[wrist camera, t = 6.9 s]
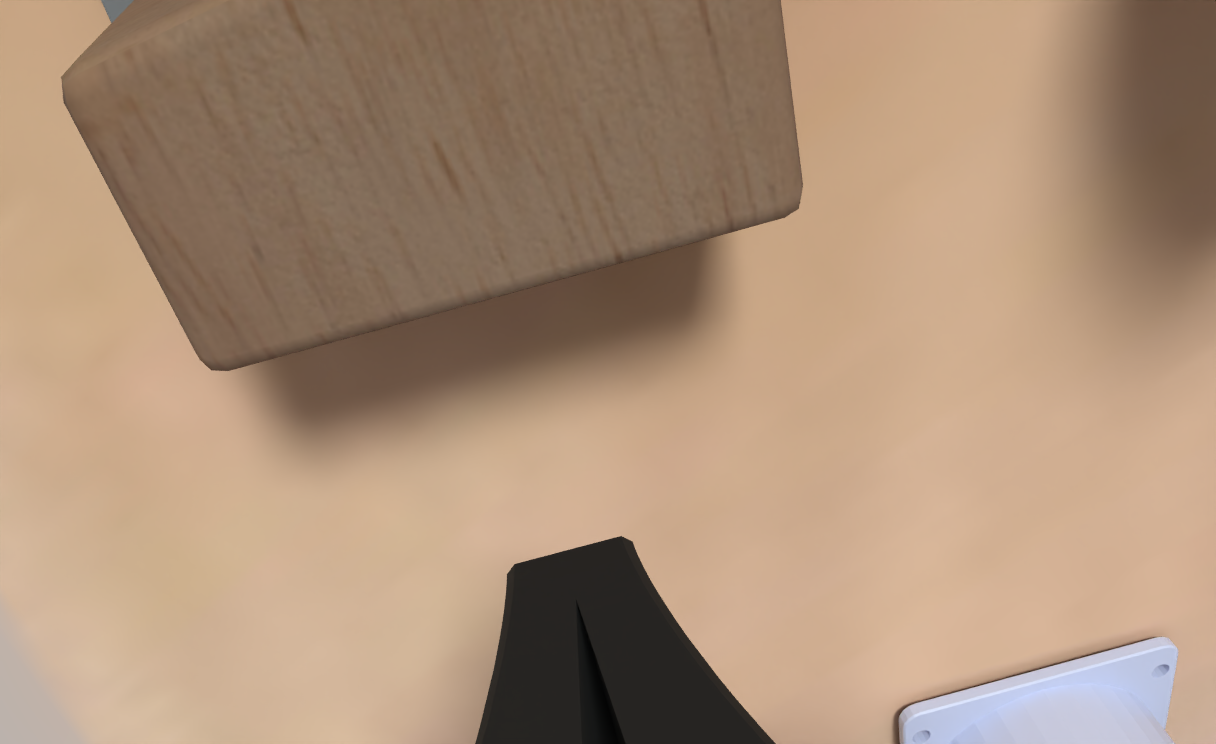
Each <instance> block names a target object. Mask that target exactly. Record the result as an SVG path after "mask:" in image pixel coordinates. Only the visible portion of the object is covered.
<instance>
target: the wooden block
mask: <svg viewBox="0 0 1216 744" xmlns="http://www.w3.org/2000/svg"><path fill="white" fill-rule="evenodd" d="M61 79H62V89H63V99H64V104H65V106H66V108H67V109H68V111H69V113H70V115H71V117H72V119H73V121H74V123H75V125H76V126H77V128H78V130H79V132H80V134H81V136H82V138H83V140H84V142H85V144H86V145H87V147H88V149H89V151H90V153H91V155H92V157H93V159H94V161H95V163H96V164H97V166H98V168H99V170H100V172H101V174H102V176H103V178H104V180H105V181H106V183H107V185H108V187H109V189H110V191H111V193H112V195H113V197H114V199H115V200H116V202H117V204H118V206H119V208H120V210H121V212H122V214H123V216H124V217H125V219H126V221H127V223H128V225H129V227H130V229H131V231H132V233H133V235H134V236H135V238H136V240H137V242H138V244H139V246H140V248H141V250H142V252H143V253H144V255H145V257H146V259H147V261H148V263H149V265H150V267H151V269H152V271H153V272H154V274H155V276H156V278H157V280H158V282H159V284H160V286H161V288H162V289H163V291H164V293H165V295H166V297H167V299H168V301H169V303H170V305H171V307H172V308H173V310H174V312H175V314H176V316H177V318H178V320H179V322H180V324H181V325H182V327H183V329H184V331H185V333H186V335H187V337H188V339H189V341H190V343H191V344H192V346H193V348H194V350H195V352H196V354H197V355H198V357H199V359H200V360H201V361H202V362H203V363H204V364H205V365H206V366H207V367H208V368H210V369H211V370H218V371H230V370H233V369H237V368H241V367H244V366H248V365H251V364H255V363H259V362H262V361H266V360H270V359H273V358H277V357H281V356H284V355H288V354H291V353H295V352H299V351H302V350H306V349H310V348H313V347H317V346H320V345H324V344H328V343H331V342H335V341H339V340H342V339H346V338H350V337H353V336H357V335H360V334H364V333H368V332H371V331H375V330H379V329H382V328H386V327H390V326H393V325H397V324H400V323H404V322H408V321H411V320H415V319H419V318H422V317H426V316H430V315H433V314H437V313H440V312H444V311H448V310H451V309H455V308H459V307H462V306H466V305H469V304H473V303H477V302H480V301H484V300H488V299H491V298H495V297H499V296H502V295H506V294H509V293H513V292H517V291H520V290H524V289H528V288H531V287H535V286H538V285H542V284H546V283H549V282H553V281H557V280H560V279H564V278H567V277H571V276H575V275H578V274H582V273H586V272H589V271H593V270H596V269H600V268H604V267H607V266H611V265H614V264H618V263H622V262H625V261H629V260H633V259H636V258H640V257H643V256H647V255H651V254H654V253H658V252H662V251H665V250H669V249H672V248H676V247H680V246H683V245H687V244H691V243H694V242H698V241H701V240H705V239H709V238H712V237H716V236H720V235H723V234H727V233H730V232H734V231H738V230H741V229H745V228H749V227H752V226H756V225H759V224H763V223H767V222H770V221H774V220H778V219H781V218H785V217H786V216H788V215H789V214H791V213H792V212H794V211H796V210H797V209H799V204H800V199H801V194H802V187H803V182H802V173H801V165H800V157H799V148H798V140H797V132H796V124H795V115H794V107H793V99H792V91H791V82H790V74H789V66H788V57H787V49H786V41H785V33H784V24H783V16H782V8H781V0H134V1H133V2H132V3H131V4H130V5H129V6H128V7H127V8H126V9H125V10H124V11H123V12H122V13H121V14H120V15H119V16H118V17H117V18H116V19H115V20H114V21H113V22H112V23H111V25H110V26H109V27H108V28H107V29H106V30H105V31H104V32H103V33H102V34H101V35H100V36H99V37H98V38H97V39H96V40H95V41H94V42H93V43H92V44H91V45H90V46H89V47H88V48H87V49H86V50H85V51H84V53H83V54H82V55H81V56H80V57H79V58H78V59H77V60H76V61H75V62H74V63H73V64H72V66H71V67H70V68H69V69H68V70H67V71H66V72H65V73H64V75H63V76H62V77H61Z"/></svg>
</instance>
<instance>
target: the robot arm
mask: <svg viewBox="0 0 1216 744" xmlns="http://www.w3.org/2000/svg"><path fill="white" fill-rule="evenodd" d="M1177 658H1178V649H1177V647H1176V646H1175V645H1174V644H1173V643H1172V641H1171V640H1170V639H1169V638H1166V637H1156V638H1152V639H1148V640H1145V641H1141V642H1137V643H1134V644H1130V645H1126V646H1123V647H1119V648H1115V649H1112V650H1108V651H1105V652H1101V653H1097V654H1094V655H1090V656H1086V657H1083V658H1079V659H1075V660H1072V661H1068V662H1064V663H1061V664H1057V665H1053V666H1050V667H1046V668H1042V669H1039V670H1035V671H1031V672H1028V673H1024V674H1021V675H1017V676H1013V677H1010V678H1006V679H1002V680H999V681H995V682H991V683H988V684H984V685H980V686H977V687H973V688H969V689H966V690H962V691H958V692H955V693H951V694H947V695H944V696H940V697H936V698H933V699H929V700H926V701H922V702H918V703H915V704H912V705H910V706H908V707H907V708H905V709H904V710H903V711H902V713H901V714H900V716H899V736H900V744H1175V743H1174V742H1173V740H1172V739H1171V738H1170V736H1169V735H1168V734H1167V732H1166V731H1165V727H1166V721H1167V716H1168V710H1169V704H1170V698H1171V692H1172V687H1173V681H1174V675H1175V669H1176V664H1177ZM475 744H775V743H774V741H773V740H772V739H771V738H770V737H769V736H768V735H767V734H766V733H765V732H764V730H763V729H762V728H761V727H760V726H759V725H758V724H757V722H756V721H755V720H754V719H753V718H752V717H751V716H750V714H749V713H748V712H747V711H746V710H745V709H744V708H743V706H742V705H741V704H740V703H739V702H738V701H737V700H736V698H735V697H734V696H733V695H732V693H731V692H730V691H729V690H728V689H727V687H726V686H725V685H724V684H723V683H722V681H721V680H720V679H719V678H718V676H717V675H716V674H715V672H714V671H713V670H712V668H711V667H710V666H709V665H708V663H707V662H706V661H705V659H704V658H703V657H702V655H701V654H700V653H699V651H698V650H697V649H696V648H695V646H694V645H693V644H692V642H691V641H690V640H689V638H688V637H687V636H686V634H685V633H684V631H683V630H682V628H681V627H680V626H679V624H678V623H677V621H676V620H675V618H674V617H673V615H672V614H671V612H670V611H669V609H668V608H667V606H666V605H665V603H664V602H663V600H662V598H661V597H660V595H659V594H658V592H657V590H656V589H655V587H654V585H653V584H652V582H651V580H650V578H649V577H648V575H647V573H646V571H645V569H644V567H643V565H642V563H641V561H640V559H639V557H638V555H637V552H636V550H635V547H634V545H633V542H632V541H630V540H628V539H626V538H624V537H622V536H620V537H616V538H612V539H608V540H605V541H601V542H597V543H593V544H589V545H586V546H582V547H578V548H574V549H570V550H567V551H563V552H559V553H555V554H552V555H548V556H544V557H540V558H536V559H533V560H529V561H525V562H521V563H517V564H514V566H513V567H512V568H511V570H510V571H509V572H508V574H507V587H506V599H505V608H504V615H503V622H502V629H501V635H500V640H499V645H498V651H497V656H496V661H495V666H494V671H493V675H492V679H491V683H490V688H489V692H488V696H487V700H486V704H485V708H484V713H483V717H482V721H481V725H480V729H479V732H478V736H477V740H476V743H475Z"/></svg>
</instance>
